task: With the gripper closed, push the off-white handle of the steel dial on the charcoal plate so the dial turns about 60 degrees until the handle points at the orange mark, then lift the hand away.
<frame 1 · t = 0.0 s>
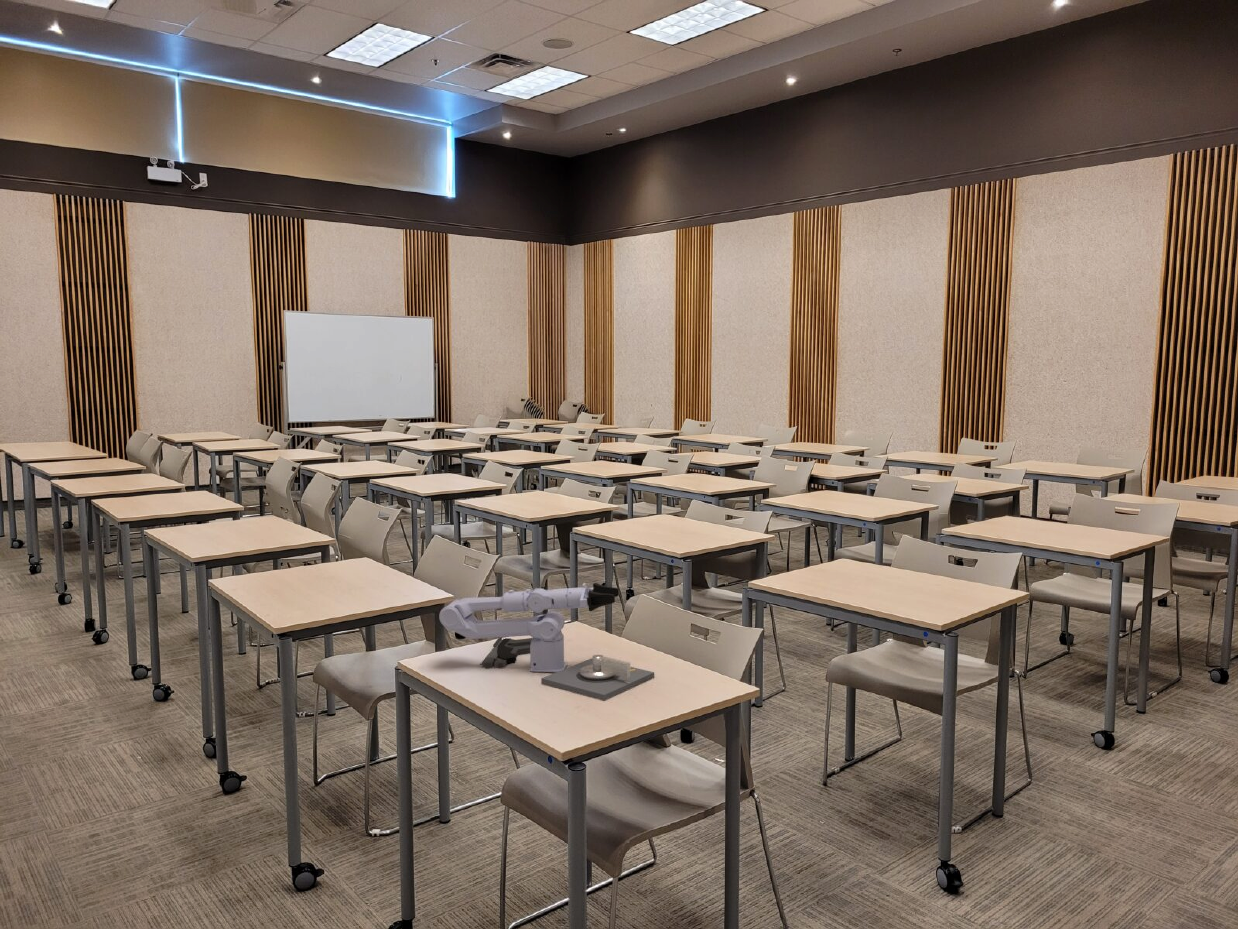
hand: (616, 595, 247), 22 cm above the table, tool horizontal, fingers open, 7 cm apart
dial plate: (598, 680, 241), on the table
dial: (605, 667, 239), point 4 cm above the table, hinge at 0.0°
pistol: (513, 657, 265), on the table
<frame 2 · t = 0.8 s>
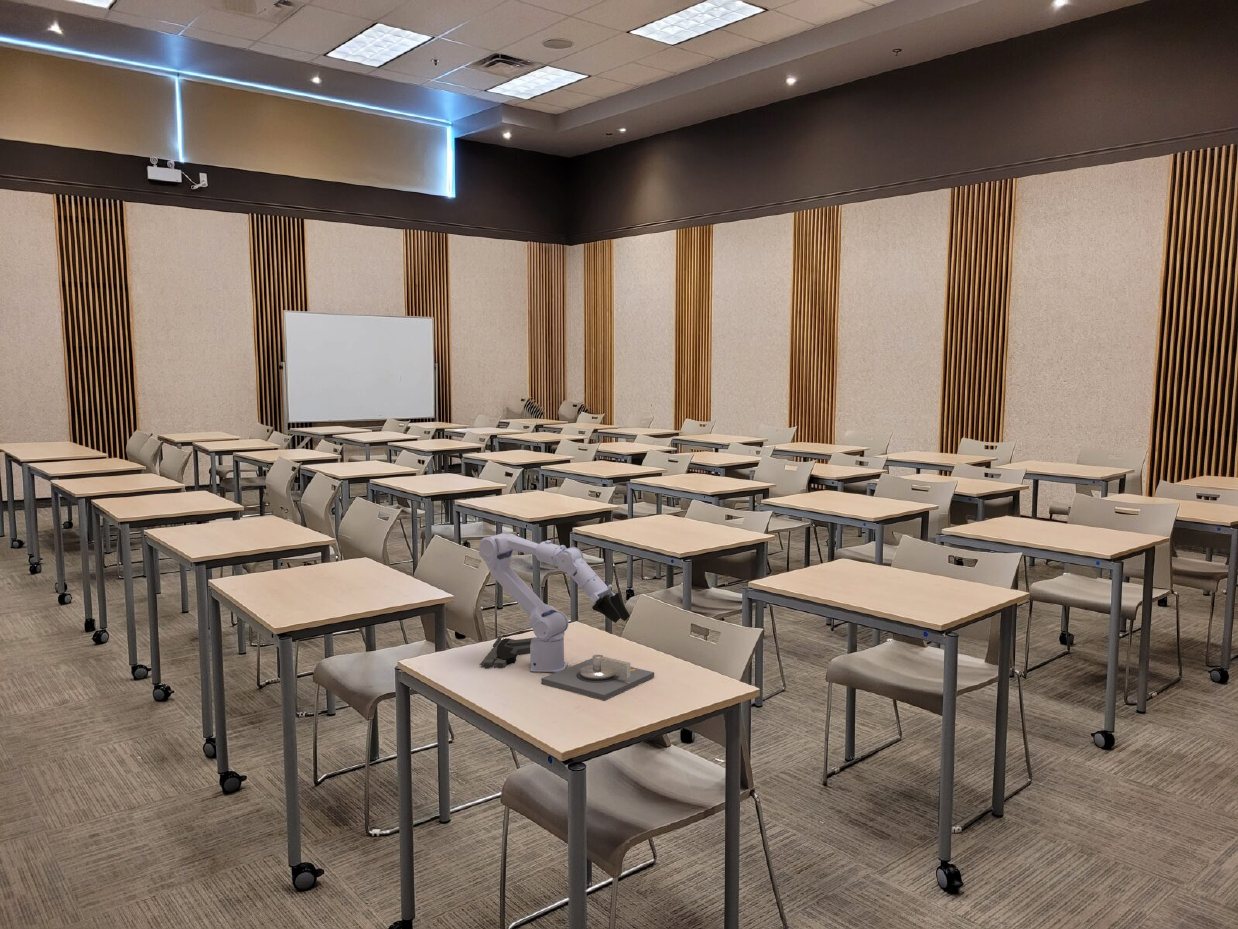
hand: (622, 619, 239), 17 cm above the table, tool tilted 50°, fingers open, 7 cm apart
nothing on the table moved.
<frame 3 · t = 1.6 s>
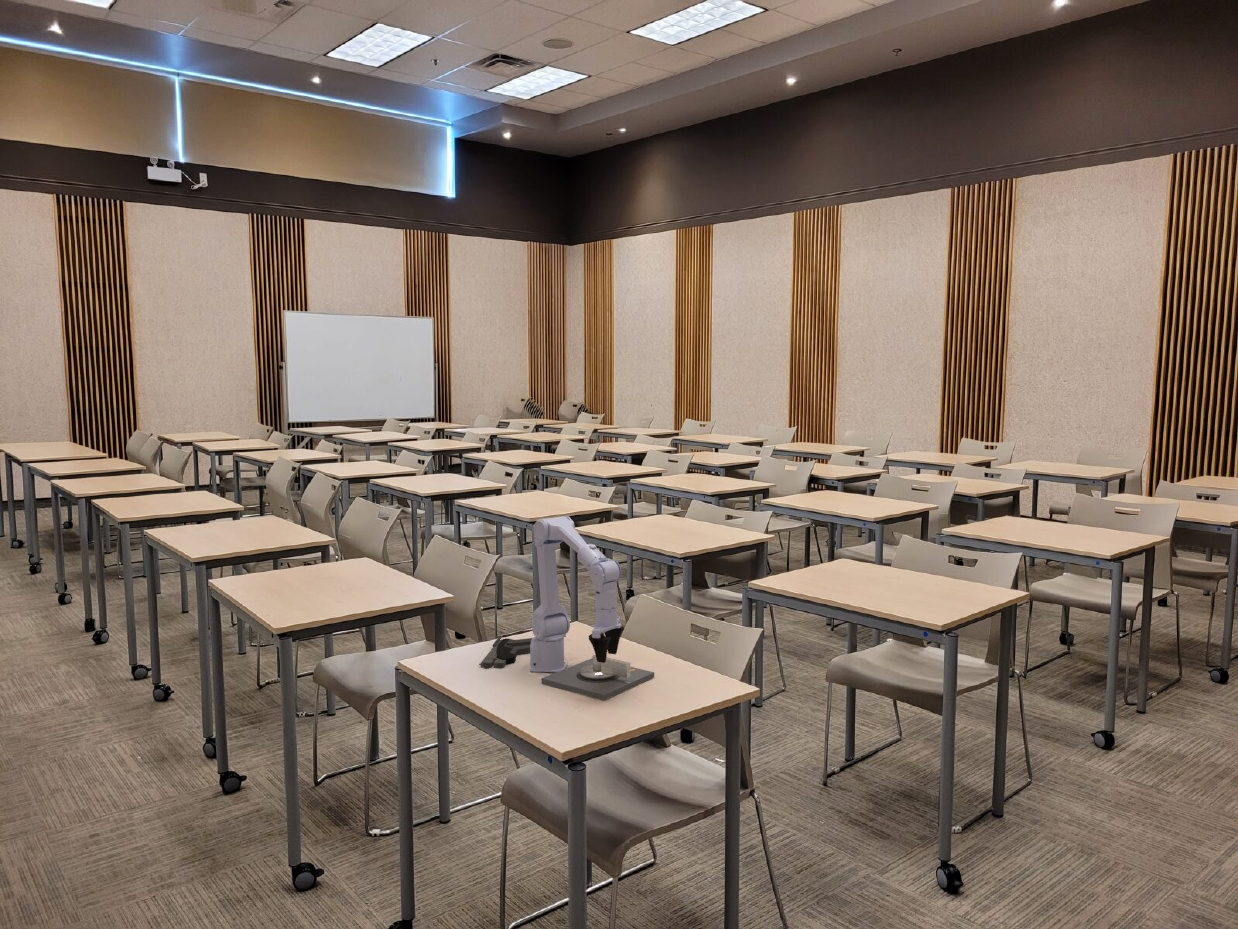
hand: (606, 657, 231), 9 cm above the table, tool pointing down, fingers open, 7 cm apart
nothing on the table moved.
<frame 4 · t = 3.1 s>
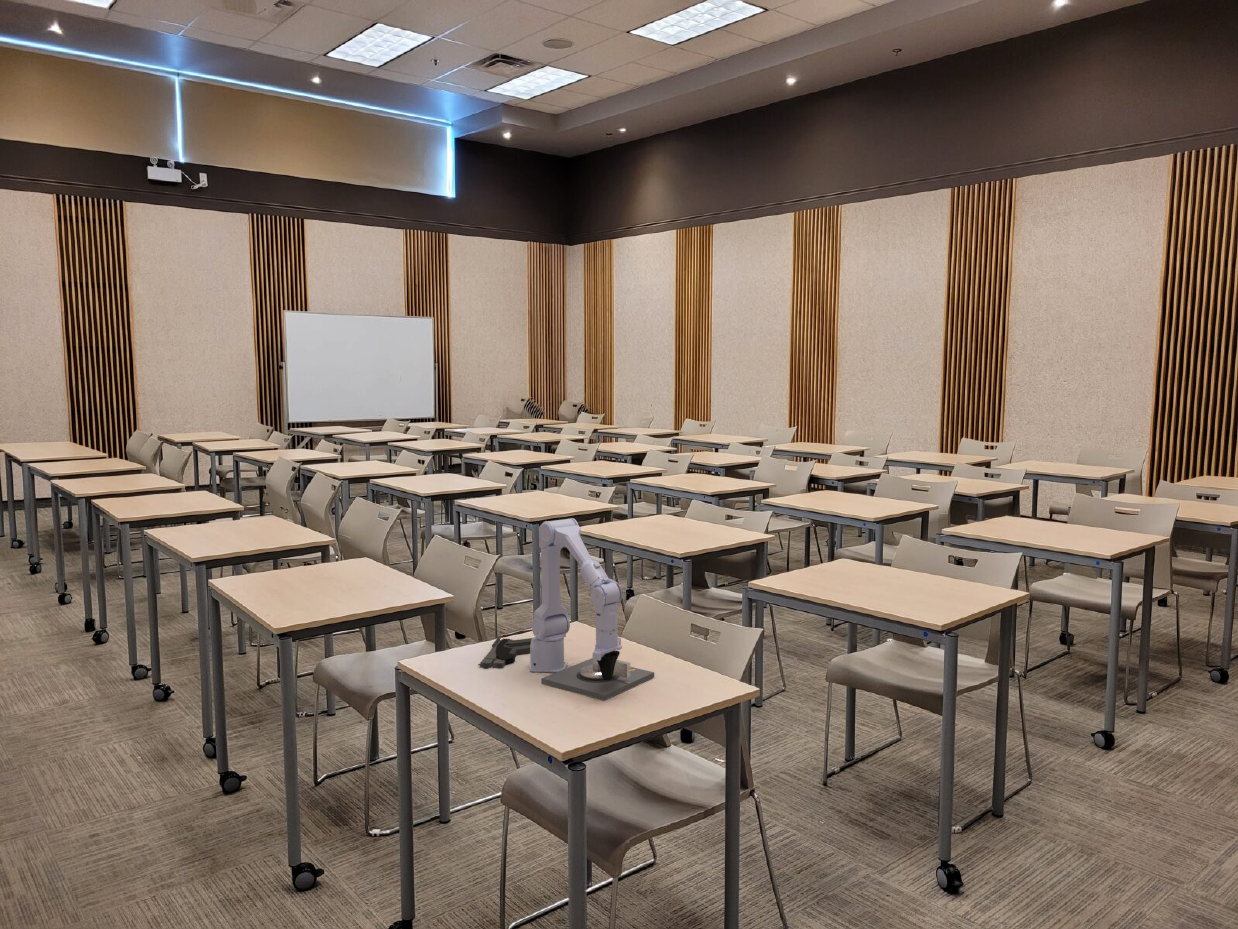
hand: (607, 679, 231), 4 cm above the table, tool pointing down, fingers closed
nothing on the table moved.
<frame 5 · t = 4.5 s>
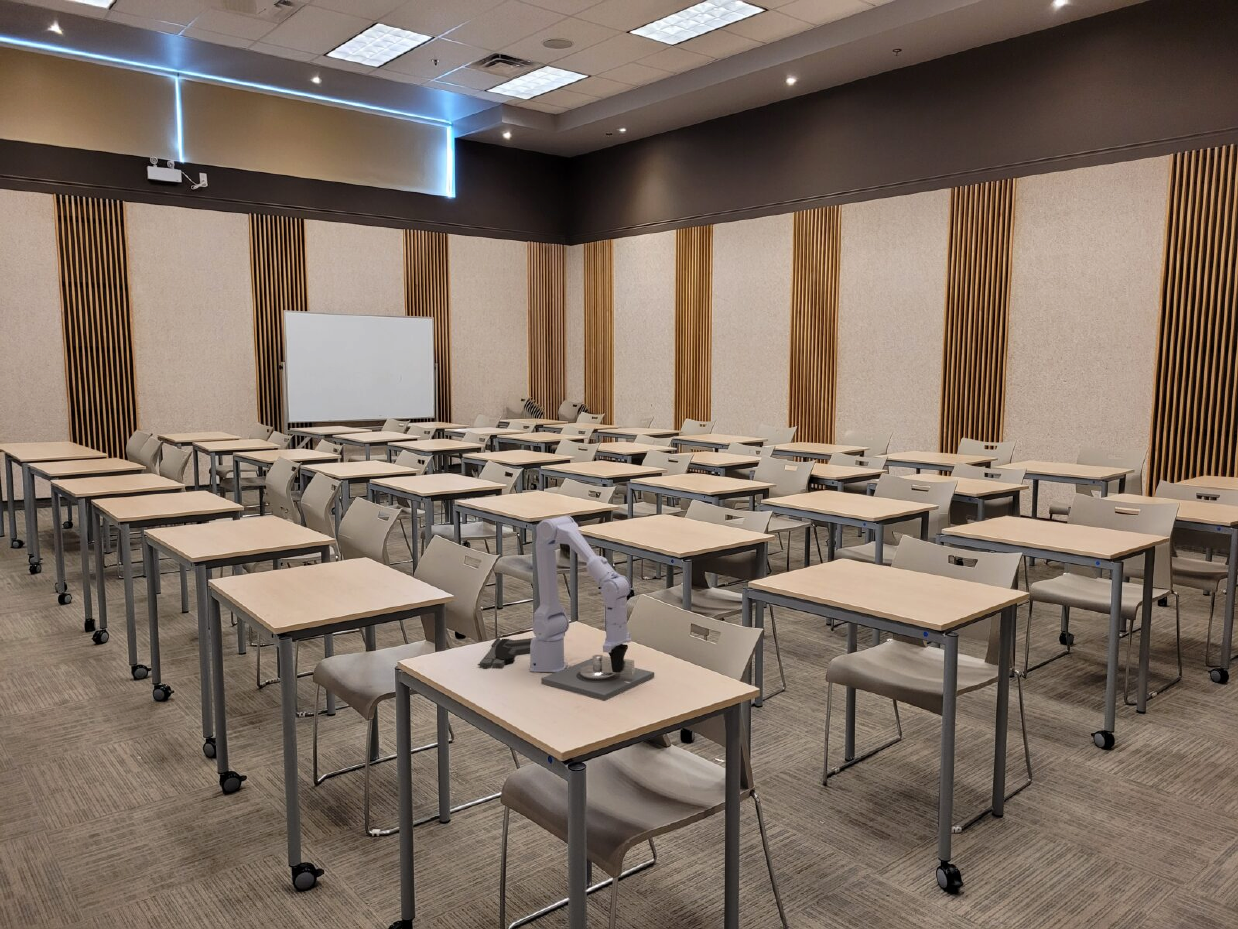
hand: (617, 671, 237), 4 cm above the table, tool pointing down, fingers closed, pressing on dial
dial: (607, 666, 239), point 4 cm above the table, hinge at 13.4°, touching gripper
everything else where it was.
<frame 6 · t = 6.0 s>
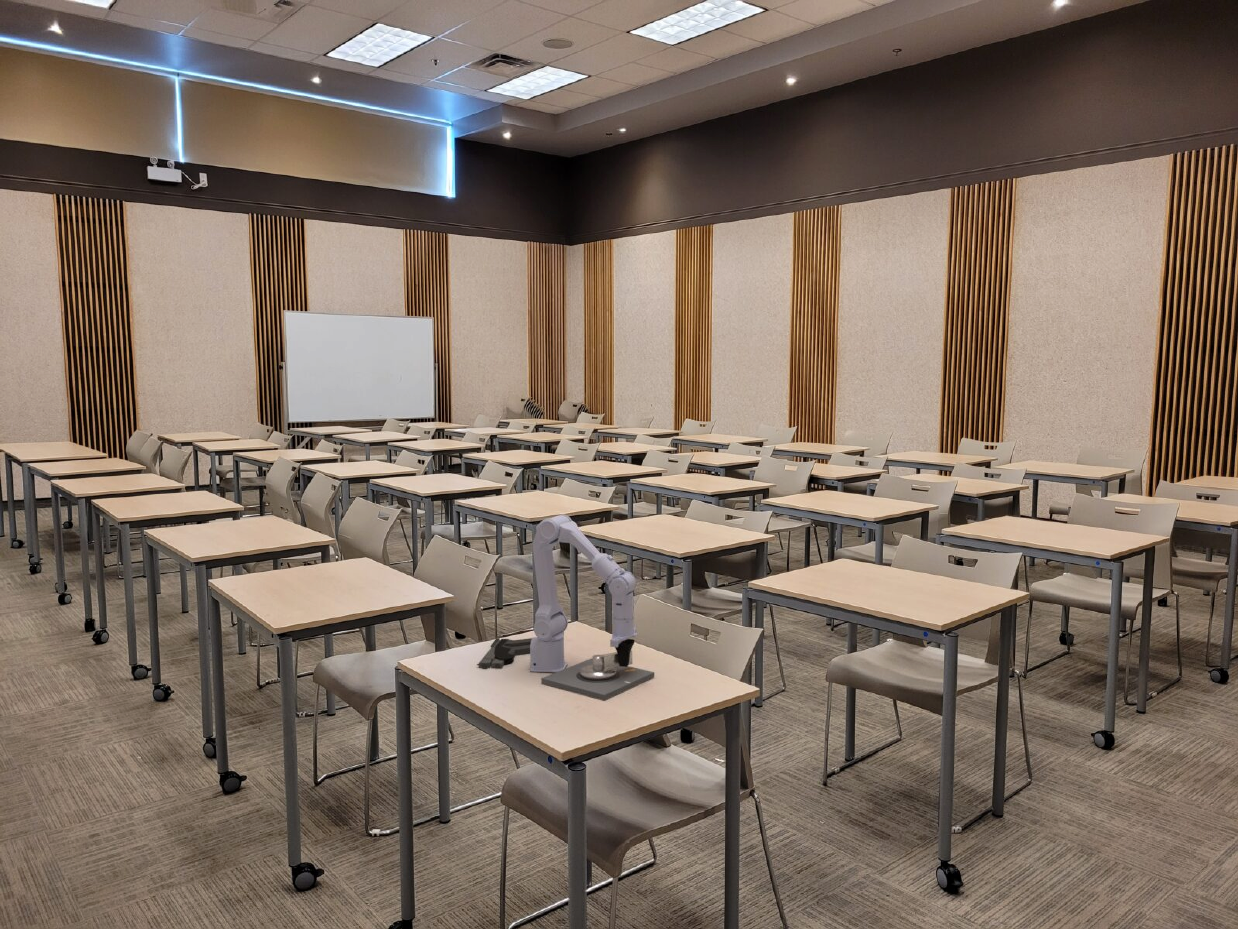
hand: (624, 665, 242), 4 cm above the table, tool pointing down, fingers closed, pressing on dial
dial: (606, 663, 242), point 4 cm above the table, hinge at 68.1°, touching gripper
everything else where it was.
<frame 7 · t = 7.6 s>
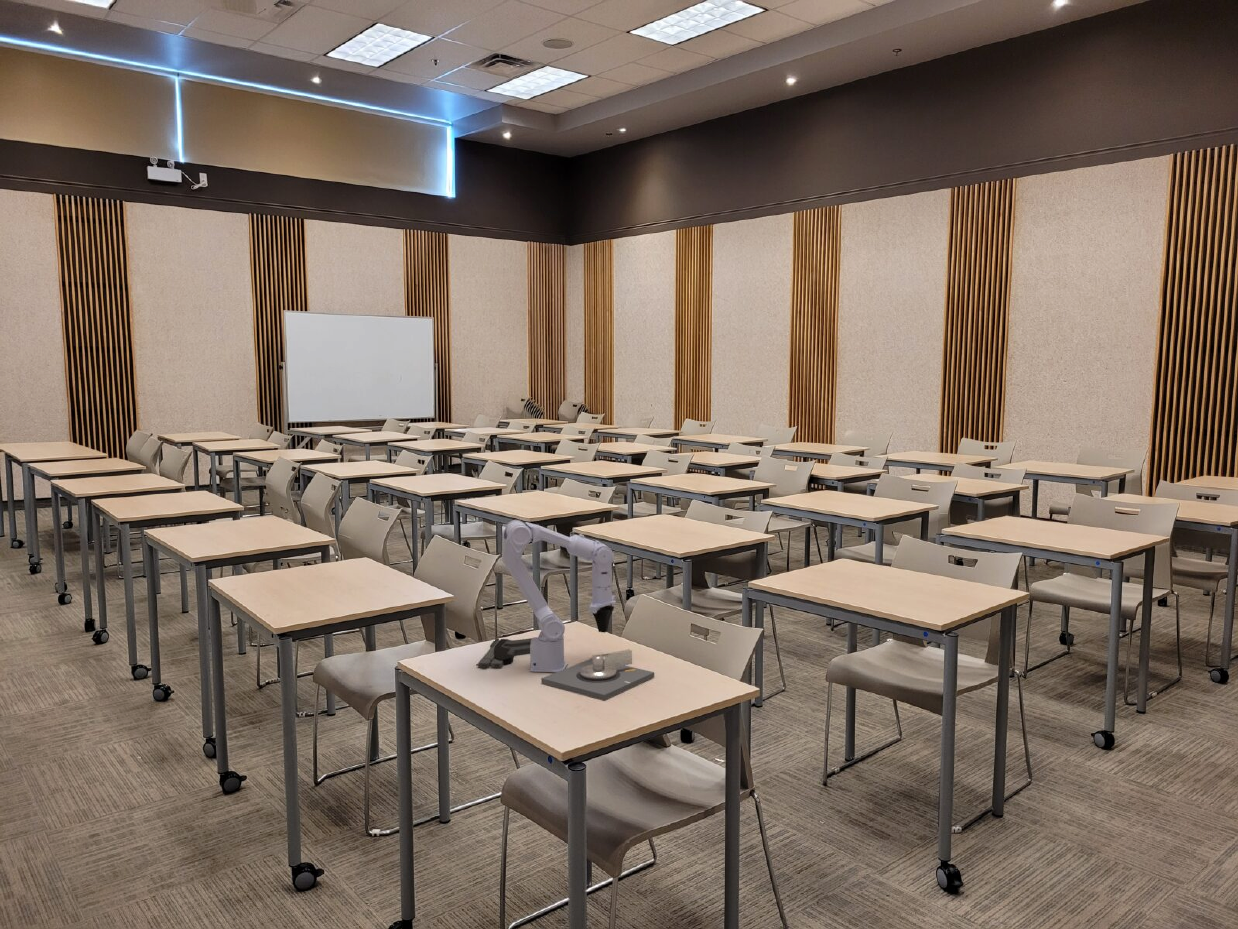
hand: (602, 631, 255), 9 cm above the table, tool pointing down, fingers closed
dial: (606, 663, 242), point 4 cm above the table, hinge at 69.4°
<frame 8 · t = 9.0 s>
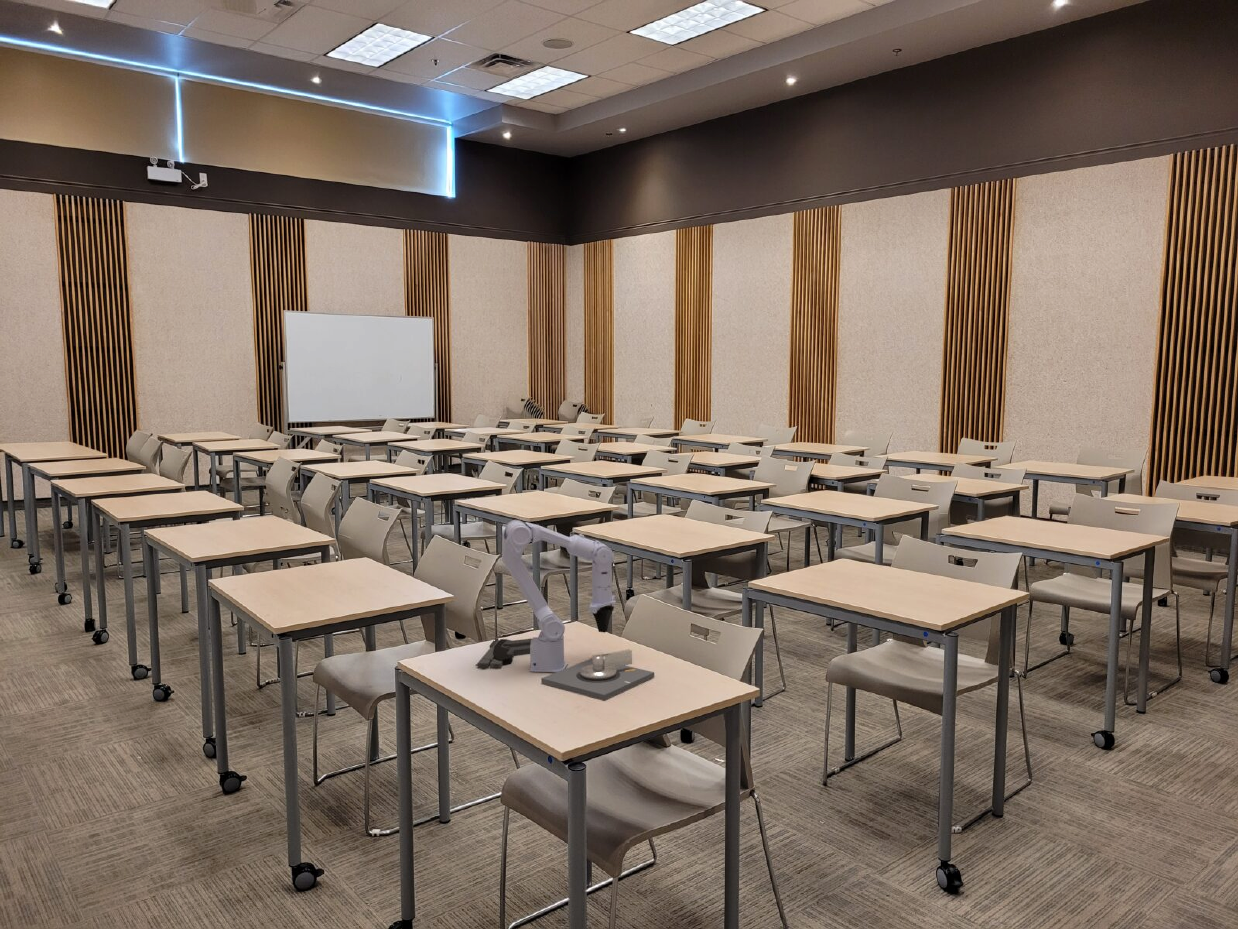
hand: (602, 631, 255), 9 cm above the table, tool pointing down, fingers closed
at the end: dial at +69° (first picture: +0°); pistol moved 1.5 cm from its start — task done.
